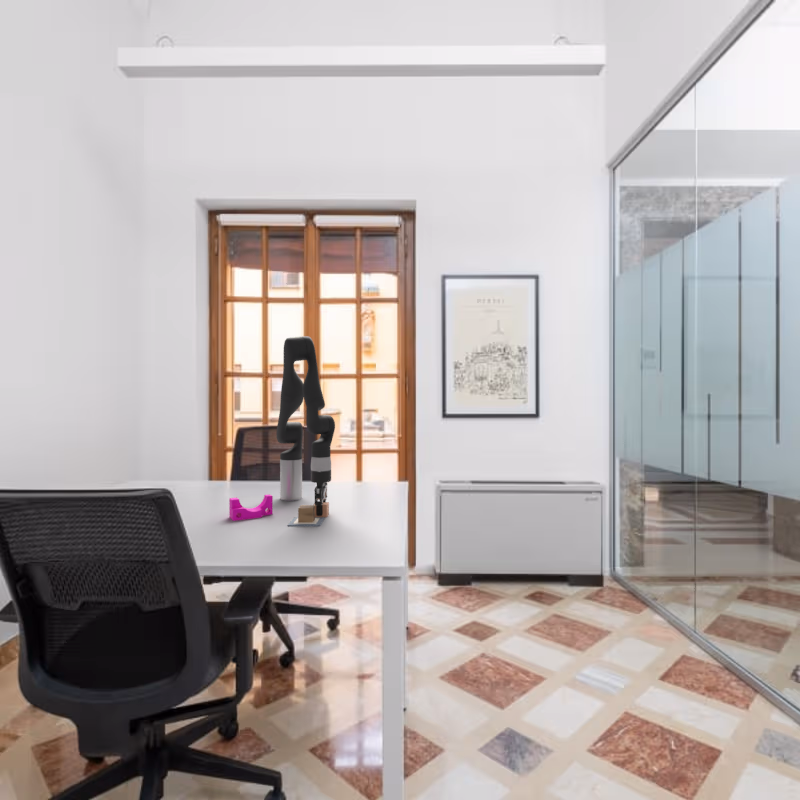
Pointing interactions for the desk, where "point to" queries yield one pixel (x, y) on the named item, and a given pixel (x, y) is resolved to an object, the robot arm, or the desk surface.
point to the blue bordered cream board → (315, 523)
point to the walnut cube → (306, 513)
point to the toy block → (250, 509)
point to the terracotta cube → (324, 509)
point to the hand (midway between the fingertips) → (321, 513)
